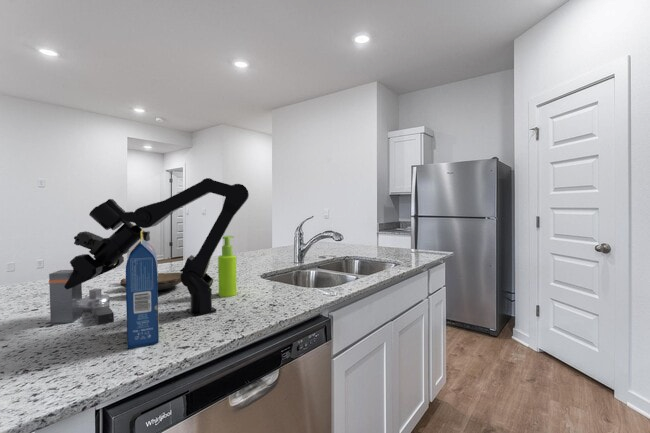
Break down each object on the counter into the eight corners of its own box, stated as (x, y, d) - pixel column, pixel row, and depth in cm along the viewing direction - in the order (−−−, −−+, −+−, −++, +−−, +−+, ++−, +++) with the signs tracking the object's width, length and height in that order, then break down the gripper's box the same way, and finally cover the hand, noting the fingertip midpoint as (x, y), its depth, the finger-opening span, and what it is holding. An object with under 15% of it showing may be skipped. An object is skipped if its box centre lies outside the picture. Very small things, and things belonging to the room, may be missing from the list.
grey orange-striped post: (82, 316, 92) (81, 269, 91) (72, 322, 87) (71, 273, 86) (61, 317, 91) (60, 270, 90) (50, 324, 86) (48, 274, 85)
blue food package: (159, 325, 84) (157, 227, 83) (159, 343, 74) (157, 230, 73) (130, 330, 81) (128, 228, 80) (126, 349, 71) (123, 232, 70)
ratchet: (121, 320, 88) (121, 299, 88) (89, 326, 84) (89, 305, 83) (107, 302, 104) (107, 285, 104) (79, 307, 99) (79, 289, 99)
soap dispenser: (240, 291, 117) (239, 235, 116) (232, 297, 110) (232, 237, 109) (224, 291, 118) (223, 235, 117) (215, 296, 111) (214, 236, 110)
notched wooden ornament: (116, 303, 104) (116, 279, 104) (123, 283, 130) (122, 264, 130) (193, 294, 114) (192, 272, 114) (184, 277, 141) (184, 259, 141)
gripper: (111, 219, 98) (69, 257, 96) (78, 223, 80) (26, 270, 78) (140, 245, 100) (100, 283, 98) (115, 255, 82) (65, 301, 80)
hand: (75, 283), depth 89 cm, fingers open, 9 cm apart
